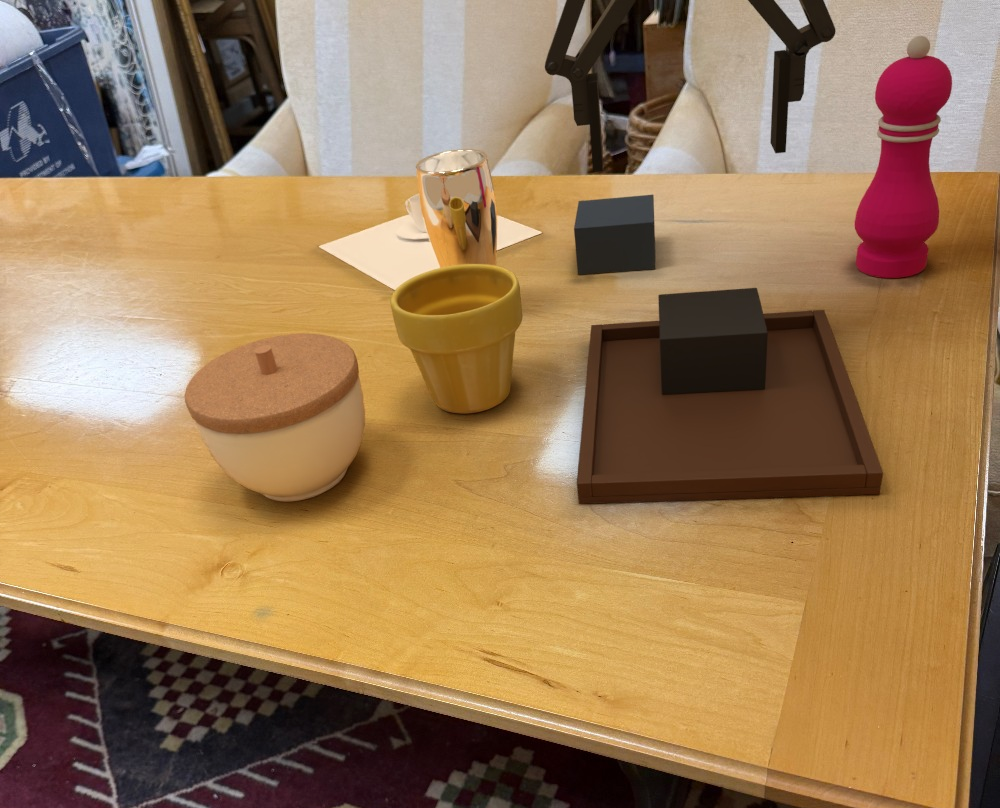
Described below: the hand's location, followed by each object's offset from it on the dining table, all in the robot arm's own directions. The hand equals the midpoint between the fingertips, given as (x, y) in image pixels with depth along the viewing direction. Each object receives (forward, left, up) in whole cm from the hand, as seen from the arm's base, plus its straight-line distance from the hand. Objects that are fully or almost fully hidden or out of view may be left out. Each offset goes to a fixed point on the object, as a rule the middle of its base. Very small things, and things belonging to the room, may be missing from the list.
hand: (686, 157), depth 70 cm
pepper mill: (-20, -14, -16) cm, 29 cm away
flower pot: (+18, +6, -16) cm, 25 cm away
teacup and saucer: (+29, -31, -16) cm, 46 cm away
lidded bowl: (+30, +17, -16) cm, 39 cm away
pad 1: (+7, -21, -16) cm, 27 cm away
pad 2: (-2, +5, -16) cm, 16 cm away
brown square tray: (-2, +10, -16) cm, 19 cm away
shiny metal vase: (+20, -10, -16) cm, 28 cm away
